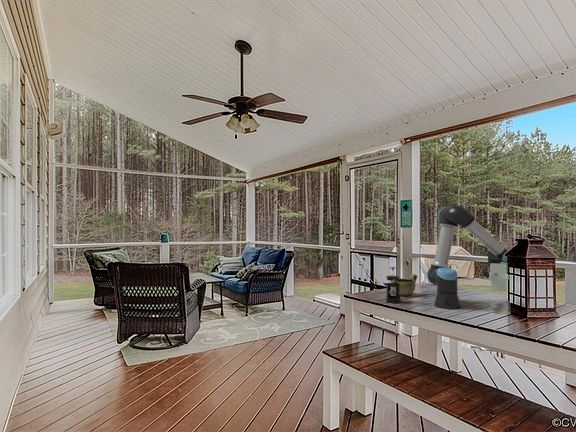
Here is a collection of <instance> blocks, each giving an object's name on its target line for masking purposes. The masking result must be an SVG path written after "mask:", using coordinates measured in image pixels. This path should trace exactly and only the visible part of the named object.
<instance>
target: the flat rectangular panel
mask: <svg viewBox="0 0 576 432" xmlns="http://www.w3.org/2000/svg"><path fill="white" fill-rule="evenodd" d="M490 272H491V279H490V291H494V292H505V293H506V292H507V281H508V279H506V272H507V263H501V264H493V263H490Z"/></svg>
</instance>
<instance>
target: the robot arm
mask: <svg viewBox="0 0 576 432" xmlns="http://www.w3.org/2000/svg"><path fill="white" fill-rule="evenodd" d="M437 216H438V219H439V223H438V224H439V226H440V230H439V235H438V240H437V246H436V250H435V254H434V261H433V262H432V263H430V267H429V268H428V269H427V272H426V278H427V281H428V282H429V283H430V284H431V285H433V286H436V292H437V294H436V296H435V300H434V306H435V307H436V308H438V309H439V308H440V309H447V310H457V309H458V310H459V309H461V307H462V303H461V301H460V298H459V295H458V272H457V270H456V269H453V268H450V266H449V260H450V256H451V255H450V254H451V250H452V246H453V241H454V235H455V230H456V229H458V227H459V226H460V227H461V228H462V229H465V230H467V231H468V232H469V233H470V234H471V235H472V236H473V237H474V238H475V239H477V240H478V241H479V242H480V244H482V245H483V246H484V247H485V248H486V249H487V270H486V269H484V270H483V273H482V275H483V277H486V278H487V279H490V280H491V272H490V263H493V264H508V263H507V257H506V256H505V254H506V253H507V252H509V251H510V250H508V249H507V248H506V247H505V246H504V245H503V244H502V243H500V241H498V240H497V239H496V238H495V237H494V236H493V235H492V234H491V233H490V232H489V231H488V230H486V228H485V227H483V226H482V224H480V223H479V222H478V221H477V220H476V216H474V215H473V214H472V213H471V212H470V211H469V210H467V209H466V208H465V207H463V206H461V205H457V204H454V205H445V206H444V207H442V208H441V209H440V210H439V212H438V213H437ZM508 272H509V271H506V280H507V281H508V280H509V279H511V278H510V277H509V275H508Z"/></svg>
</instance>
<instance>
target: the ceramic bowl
mask: <svg viewBox="0 0 576 432" xmlns="http://www.w3.org/2000/svg"><path fill="white" fill-rule="evenodd" d="M389 276H395V274H390V275H389ZM417 279H418V275H417V274H414V273H412V274H410V276H409V278H399V280H398V279H393V280H391V281H390V283H399V284H400V297H402V296H403V297H408V296H410V295H412V294H413V293H414V292H415V290H416V282H417ZM391 289H392V291H393V290H394V291H396V287H391Z"/></svg>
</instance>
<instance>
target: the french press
mask: <svg viewBox="0 0 576 432" xmlns="http://www.w3.org/2000/svg"><path fill="white" fill-rule="evenodd" d="M389 269H391V271H395V269H396V266H395V267H394V266H391V267H389ZM393 279H398V280H399V279H401V276H399V275H394V276H390V275H386V280H387V281H390V282H387V283H385V286H386V299H385V303H388V304H394V305H395V304H401V302H402V301H401V295H400V284H399V283H391V280H393ZM392 287H396V291H394V290H393V289H392ZM391 289H392V290H391Z"/></svg>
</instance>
